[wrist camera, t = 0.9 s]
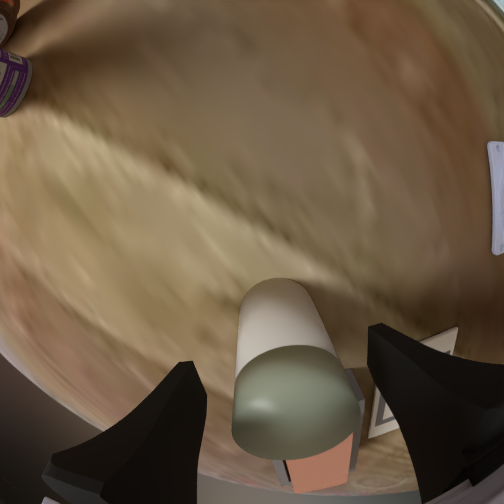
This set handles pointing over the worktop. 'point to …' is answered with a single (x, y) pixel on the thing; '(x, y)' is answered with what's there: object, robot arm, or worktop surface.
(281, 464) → the button housing
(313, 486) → the button
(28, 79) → the container
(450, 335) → the paper sheet
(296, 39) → the worktop surface
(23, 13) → the worktop surface
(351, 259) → the worktop surface
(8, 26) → the tin
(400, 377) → the robot arm
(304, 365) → the marker
